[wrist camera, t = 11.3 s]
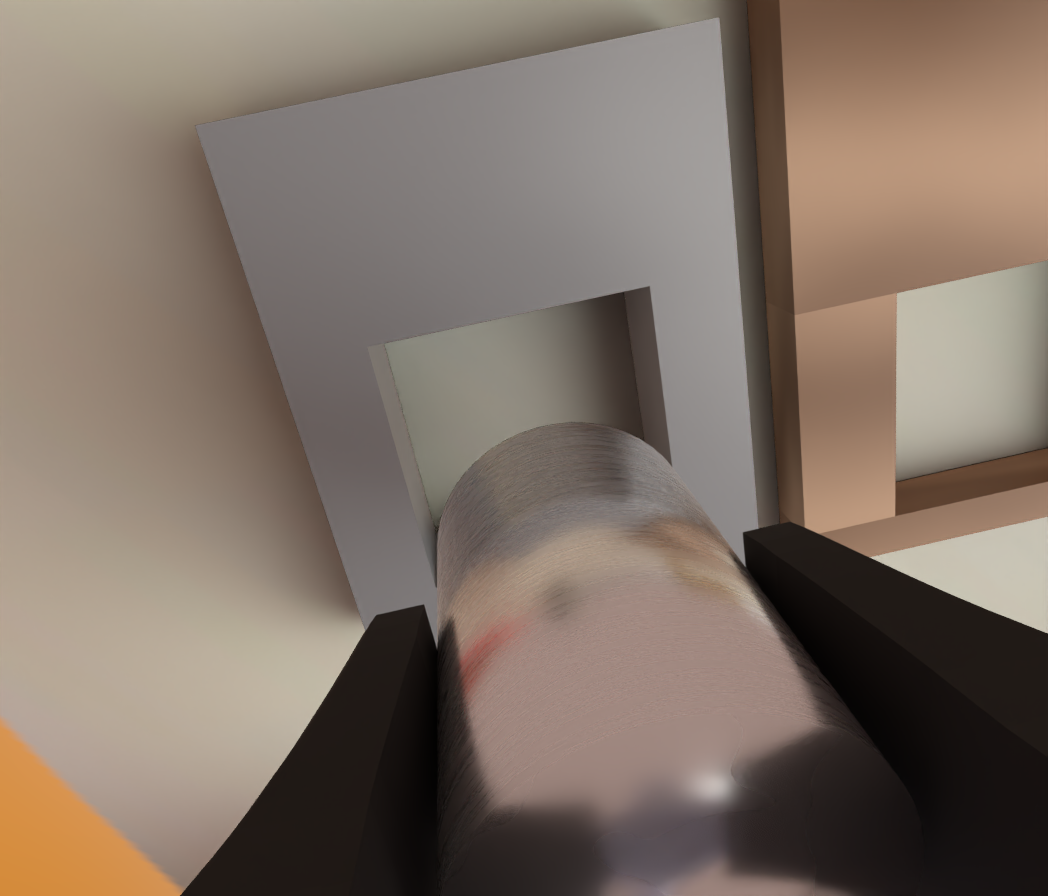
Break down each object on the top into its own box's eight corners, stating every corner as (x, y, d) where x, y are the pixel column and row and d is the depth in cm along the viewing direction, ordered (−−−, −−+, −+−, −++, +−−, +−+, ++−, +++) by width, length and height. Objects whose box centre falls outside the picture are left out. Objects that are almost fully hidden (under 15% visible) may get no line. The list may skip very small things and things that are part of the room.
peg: (709, 612, 12) (930, 992, 7) (476, 676, 12) (509, 1109, 7) (669, 391, 11) (915, 651, 5) (402, 464, 11) (367, 800, 5)
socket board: (1141, 459, 20) (1193, 483, 19) (780, 541, 20) (807, 571, 18) (1263, -351, 14) (1356, -407, 12) (730, -246, 13) (765, -292, 12)
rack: (725, 545, 20) (764, 599, 17) (390, 621, 19) (383, 686, 17) (675, 36, 15) (719, 17, 13) (233, 128, 15) (194, 125, 12)
